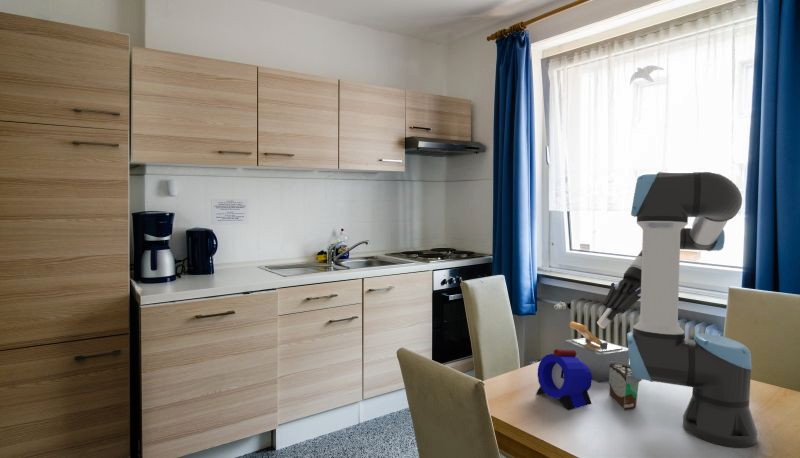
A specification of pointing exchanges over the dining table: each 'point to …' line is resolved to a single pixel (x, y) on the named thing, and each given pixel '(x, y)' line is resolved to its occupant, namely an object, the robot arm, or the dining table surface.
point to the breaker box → (597, 356)
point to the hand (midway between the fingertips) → (600, 325)
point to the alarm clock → (565, 378)
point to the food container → (623, 385)
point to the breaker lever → (585, 332)
